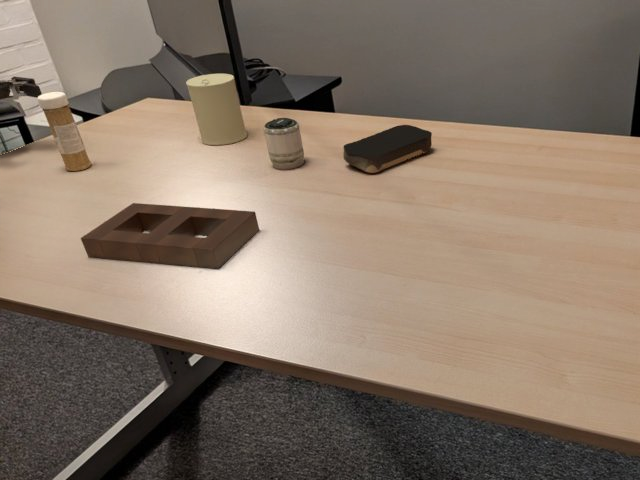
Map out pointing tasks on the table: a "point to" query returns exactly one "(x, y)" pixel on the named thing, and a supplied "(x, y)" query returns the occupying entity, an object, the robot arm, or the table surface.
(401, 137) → the black sponge
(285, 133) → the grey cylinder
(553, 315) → the table surface
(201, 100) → the can
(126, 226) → the socket block
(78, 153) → the sprinkles bottle
